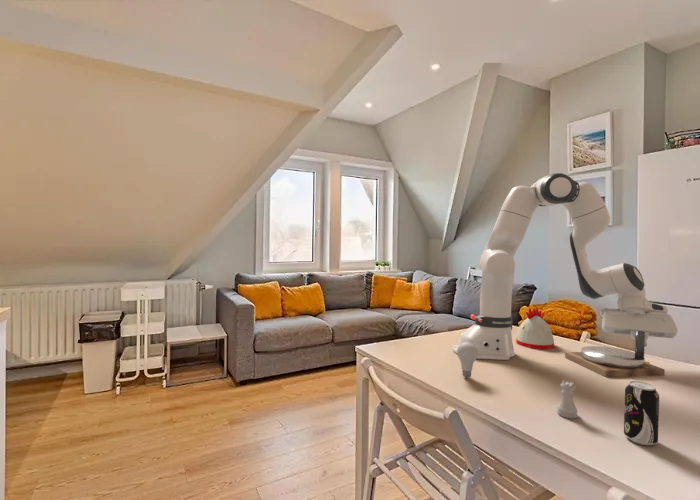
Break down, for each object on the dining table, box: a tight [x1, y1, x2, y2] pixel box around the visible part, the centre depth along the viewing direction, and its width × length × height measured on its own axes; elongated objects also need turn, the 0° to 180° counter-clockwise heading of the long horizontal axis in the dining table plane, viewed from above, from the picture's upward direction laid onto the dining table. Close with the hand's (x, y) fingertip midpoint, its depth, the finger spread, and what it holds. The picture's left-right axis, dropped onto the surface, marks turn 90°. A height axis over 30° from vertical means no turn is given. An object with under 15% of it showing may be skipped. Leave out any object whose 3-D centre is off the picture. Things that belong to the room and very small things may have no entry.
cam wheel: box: [580, 330, 651, 368], centre depth 125 cm, size 19×18×11 cm
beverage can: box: [623, 380, 660, 447], centre depth 79 cm, size 6×6×12 cm
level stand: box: [564, 351, 666, 378], centre depth 126 cm, size 20×19×2 cm
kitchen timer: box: [515, 307, 555, 350], centre depth 152 cm, size 14×14×15 cm
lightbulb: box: [456, 342, 478, 379], centre depth 114 cm, size 6×6×11 cm
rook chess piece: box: [556, 380, 579, 420], centre depth 90 cm, size 4×4×8 cm
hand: (641, 345), depth 122 cm, fingers closed
